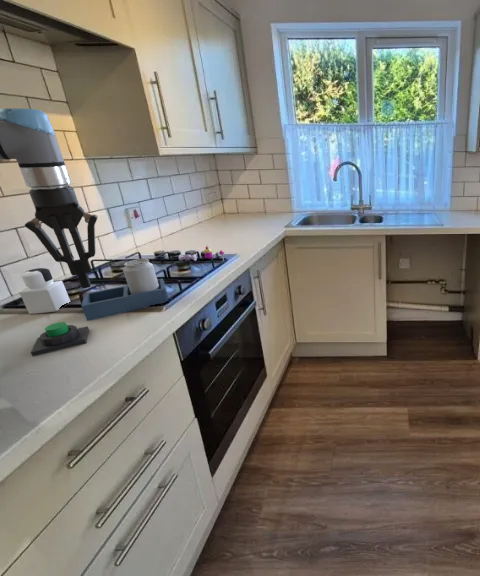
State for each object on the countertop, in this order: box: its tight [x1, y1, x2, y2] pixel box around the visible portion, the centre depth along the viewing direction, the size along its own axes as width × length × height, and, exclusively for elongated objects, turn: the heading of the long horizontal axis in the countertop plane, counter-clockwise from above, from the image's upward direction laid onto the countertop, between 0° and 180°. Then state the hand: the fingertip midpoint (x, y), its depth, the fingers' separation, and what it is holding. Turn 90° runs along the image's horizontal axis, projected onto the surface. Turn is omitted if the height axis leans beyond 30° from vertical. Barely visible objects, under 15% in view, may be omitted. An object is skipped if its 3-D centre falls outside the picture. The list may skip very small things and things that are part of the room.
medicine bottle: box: [18, 267, 71, 315], centre depth 105 cm, size 7×7×12 cm
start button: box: [44, 321, 69, 337], centre depth 87 cm, size 4×4×2 cm
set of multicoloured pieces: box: [178, 246, 225, 262], centre depth 145 cm, size 18×8×6 cm, turn 98°
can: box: [122, 258, 160, 295], centre depth 108 cm, size 8×8×12 cm
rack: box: [81, 278, 170, 322], centre depth 107 cm, size 20×10×5 cm, turn 123°
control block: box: [30, 324, 90, 357], centre depth 88 cm, size 10×8×3 cm
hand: (86, 286), depth 88 cm, fingers closed
